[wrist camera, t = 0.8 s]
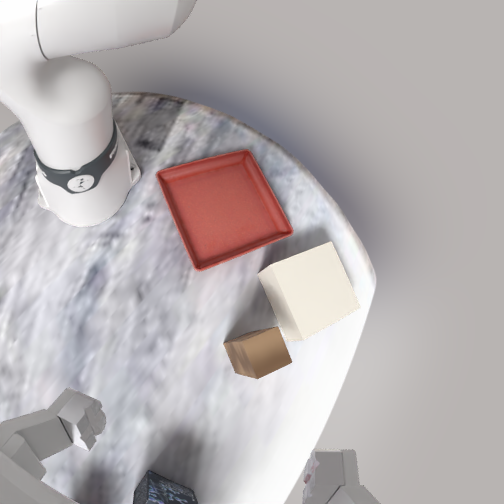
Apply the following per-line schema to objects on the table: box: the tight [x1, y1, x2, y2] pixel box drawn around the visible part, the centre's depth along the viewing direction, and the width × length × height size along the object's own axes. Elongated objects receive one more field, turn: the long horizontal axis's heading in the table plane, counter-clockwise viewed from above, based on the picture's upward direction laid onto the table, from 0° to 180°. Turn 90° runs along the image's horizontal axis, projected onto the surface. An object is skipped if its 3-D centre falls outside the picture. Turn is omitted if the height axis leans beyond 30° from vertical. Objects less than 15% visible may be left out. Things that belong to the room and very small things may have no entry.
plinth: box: [258, 241, 360, 342], centre depth 48 cm, size 12×12×6 cm
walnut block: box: [223, 327, 292, 379], centre depth 40 cm, size 5×5×10 cm
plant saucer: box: [156, 149, 293, 272], centre depth 49 cm, size 18×18×3 cm
